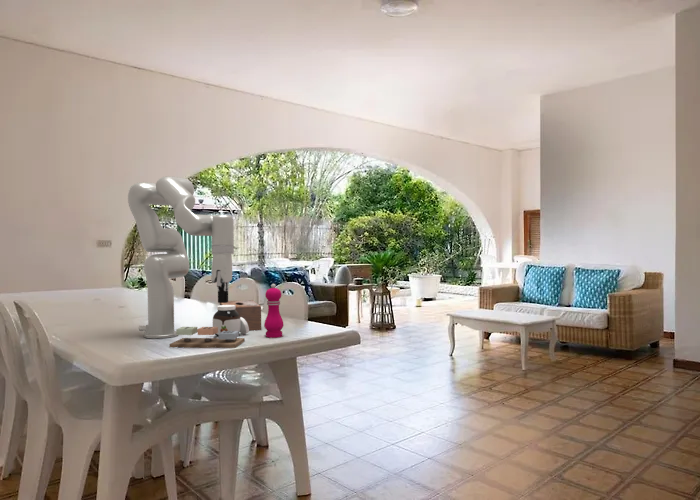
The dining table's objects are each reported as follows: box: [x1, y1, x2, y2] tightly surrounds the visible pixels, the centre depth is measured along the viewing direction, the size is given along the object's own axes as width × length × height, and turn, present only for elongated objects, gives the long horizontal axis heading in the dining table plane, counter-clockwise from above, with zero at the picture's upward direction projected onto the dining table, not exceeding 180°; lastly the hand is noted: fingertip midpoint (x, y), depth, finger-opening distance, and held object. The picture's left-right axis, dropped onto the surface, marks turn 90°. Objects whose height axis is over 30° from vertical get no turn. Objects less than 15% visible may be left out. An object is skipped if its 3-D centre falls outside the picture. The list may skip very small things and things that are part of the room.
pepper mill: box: [264, 283, 284, 339], centre depth 209 cm, size 7×7×20 cm
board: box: [168, 337, 246, 349], centre depth 194 cm, size 23×12×2 cm, turn 86°
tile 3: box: [218, 331, 240, 339], centre depth 193 cm, size 6×6×2 cm
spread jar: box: [212, 304, 250, 338], centre depth 212 cm, size 12×11×12 cm
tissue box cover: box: [219, 299, 262, 332], centre depth 234 cm, size 26×14×10 cm, turn 18°
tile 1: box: [175, 326, 198, 336], centre depth 194 cm, size 6×6×2 cm
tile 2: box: [197, 326, 218, 336], centre depth 194 cm, size 6×6×2 cm
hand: (223, 302), depth 193 cm, fingers closed
